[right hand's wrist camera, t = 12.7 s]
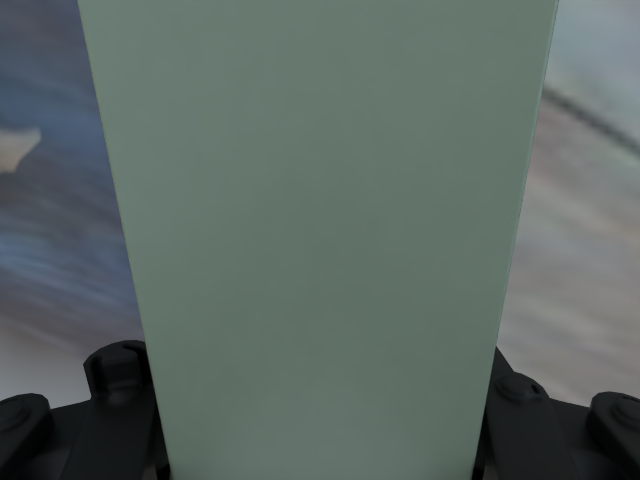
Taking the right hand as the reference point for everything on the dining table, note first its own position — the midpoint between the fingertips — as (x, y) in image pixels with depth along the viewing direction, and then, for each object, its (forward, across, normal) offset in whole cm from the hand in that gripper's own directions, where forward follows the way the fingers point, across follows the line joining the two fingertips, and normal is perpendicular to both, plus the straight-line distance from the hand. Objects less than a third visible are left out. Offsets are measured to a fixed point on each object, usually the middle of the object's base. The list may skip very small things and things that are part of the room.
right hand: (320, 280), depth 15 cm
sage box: (0, 0, -11) cm, 11 cm away
